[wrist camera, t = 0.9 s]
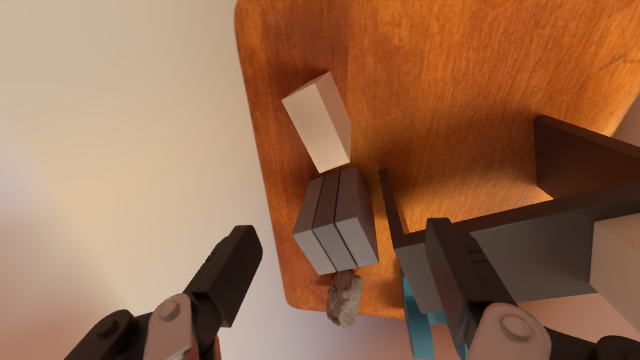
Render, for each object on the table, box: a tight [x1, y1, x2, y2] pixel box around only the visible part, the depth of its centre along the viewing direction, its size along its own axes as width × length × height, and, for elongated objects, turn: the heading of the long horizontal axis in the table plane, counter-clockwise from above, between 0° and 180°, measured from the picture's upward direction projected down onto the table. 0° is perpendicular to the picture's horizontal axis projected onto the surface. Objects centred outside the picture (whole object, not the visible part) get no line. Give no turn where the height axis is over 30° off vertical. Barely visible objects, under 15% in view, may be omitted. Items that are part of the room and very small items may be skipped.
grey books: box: [292, 165, 379, 275], centre depth 30 cm, size 8×7×12 cm
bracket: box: [400, 266, 468, 360], centre depth 38 cm, size 18×10×10 cm, turn 13°
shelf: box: [378, 115, 640, 314], centre depth 25 cm, size 20×10×15 cm, turn 116°
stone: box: [326, 270, 362, 329], centre depth 40 cm, size 9×7×10 cm
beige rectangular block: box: [281, 71, 352, 173], centre depth 24 cm, size 3×7×12 cm, turn 26°
